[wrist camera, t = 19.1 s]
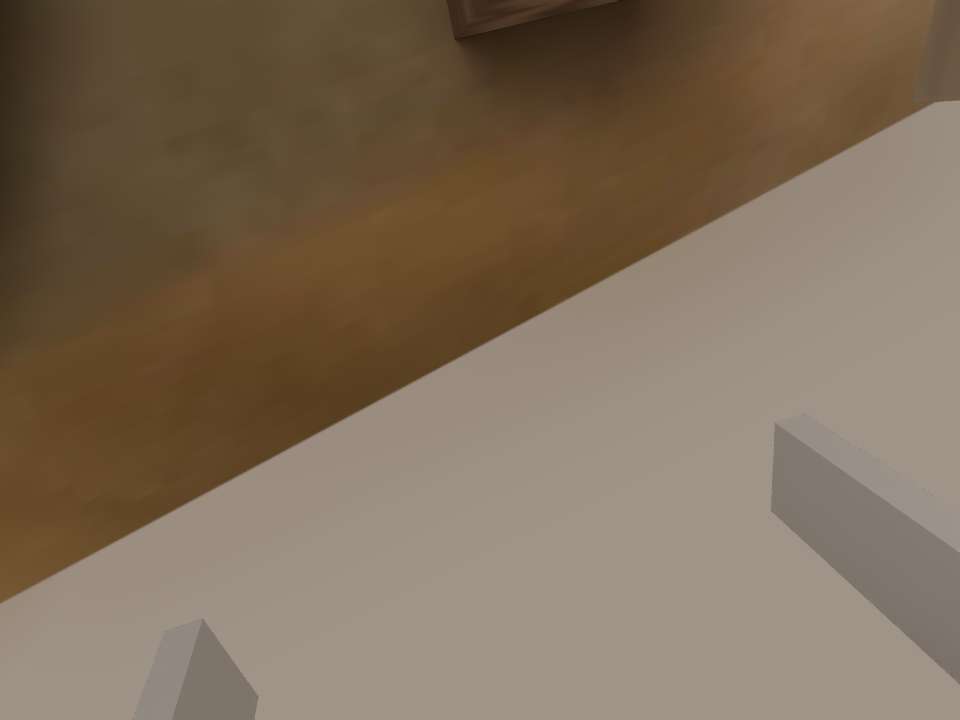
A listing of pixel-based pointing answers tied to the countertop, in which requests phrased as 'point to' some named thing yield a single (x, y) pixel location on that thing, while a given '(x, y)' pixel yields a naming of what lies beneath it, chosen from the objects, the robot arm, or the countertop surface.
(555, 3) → the walnut stand
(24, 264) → the countertop surface
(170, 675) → the robot arm
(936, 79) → the ash crossbar
